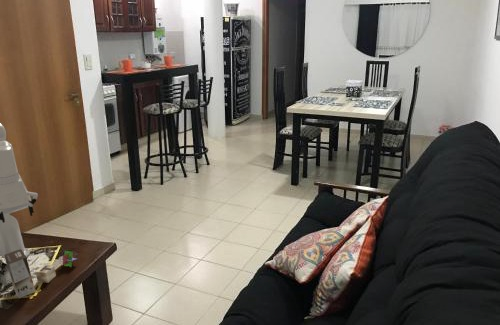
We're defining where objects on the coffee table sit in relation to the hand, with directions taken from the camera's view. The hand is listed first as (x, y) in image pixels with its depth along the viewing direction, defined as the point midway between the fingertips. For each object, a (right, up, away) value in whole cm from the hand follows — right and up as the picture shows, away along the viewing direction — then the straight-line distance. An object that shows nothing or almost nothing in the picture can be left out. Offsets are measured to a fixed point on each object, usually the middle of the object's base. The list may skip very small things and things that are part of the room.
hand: (17, 217), depth 158 cm
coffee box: (+1, -30, +4) cm, 30 cm away
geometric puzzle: (+12, -24, +19) cm, 33 cm away
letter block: (+6, -27, +10) cm, 30 cm away
